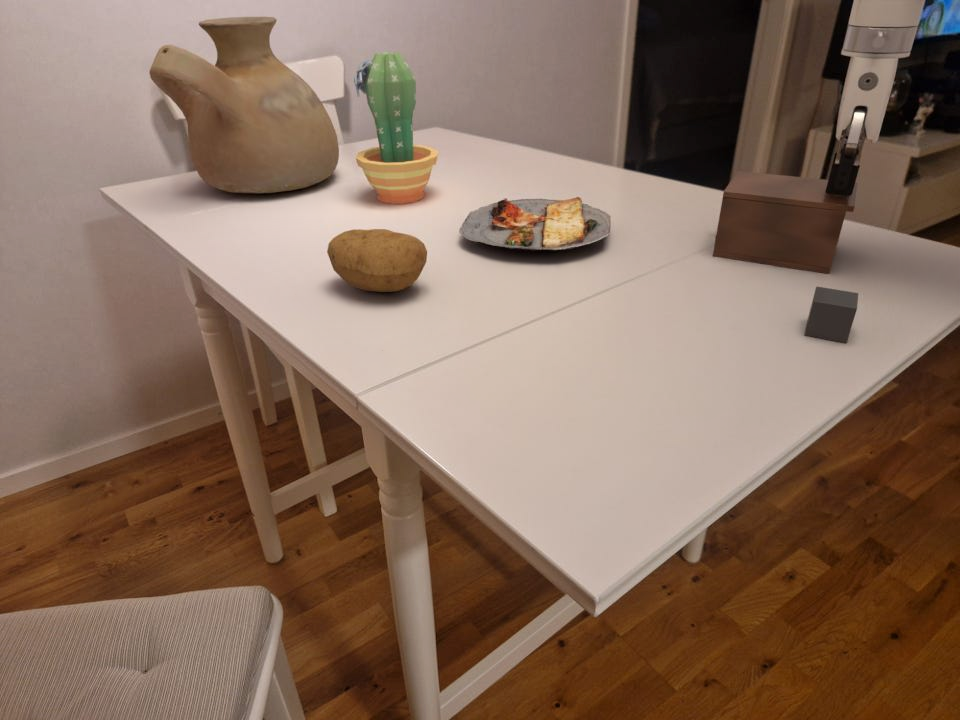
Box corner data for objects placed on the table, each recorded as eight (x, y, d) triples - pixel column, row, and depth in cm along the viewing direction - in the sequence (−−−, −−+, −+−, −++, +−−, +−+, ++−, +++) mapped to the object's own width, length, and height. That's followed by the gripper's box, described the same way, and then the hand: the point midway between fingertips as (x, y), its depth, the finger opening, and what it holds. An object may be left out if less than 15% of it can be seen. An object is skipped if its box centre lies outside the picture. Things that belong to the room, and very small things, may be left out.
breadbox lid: (856, 188, 94) (865, 152, 92) (853, 212, 85) (863, 173, 83) (736, 175, 101) (742, 142, 98) (722, 196, 92) (728, 160, 90)
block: (848, 326, 77) (858, 292, 75) (846, 343, 74) (857, 308, 72) (807, 319, 79) (816, 286, 77) (804, 335, 76) (813, 300, 74)
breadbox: (834, 245, 99) (849, 188, 95) (829, 273, 90) (846, 211, 86) (726, 231, 105) (736, 176, 101) (712, 255, 97) (722, 197, 92)
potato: (355, 268, 96) (348, 215, 92) (441, 282, 91) (438, 226, 87) (315, 295, 88) (306, 238, 84) (407, 312, 83) (402, 252, 79)
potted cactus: (406, 180, 135) (395, 46, 122) (458, 195, 125) (452, 51, 112) (343, 197, 125) (325, 54, 112) (394, 215, 116) (380, 60, 103)
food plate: (480, 207, 119) (479, 187, 117) (610, 212, 115) (612, 192, 113) (448, 259, 98) (447, 237, 96) (607, 268, 94) (609, 244, 92)
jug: (371, 175, 138) (354, 14, 123) (237, 220, 115) (194, 29, 100) (282, 157, 153) (256, 12, 138) (146, 195, 130) (97, 25, 114)
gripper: (915, 50, 73) (868, 210, 82) (910, 36, 86) (871, 175, 95) (840, 48, 76) (803, 202, 85) (846, 35, 89) (814, 170, 98)
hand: (839, 187), depth 90 cm, fingers closed on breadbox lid, 5 cm apart
